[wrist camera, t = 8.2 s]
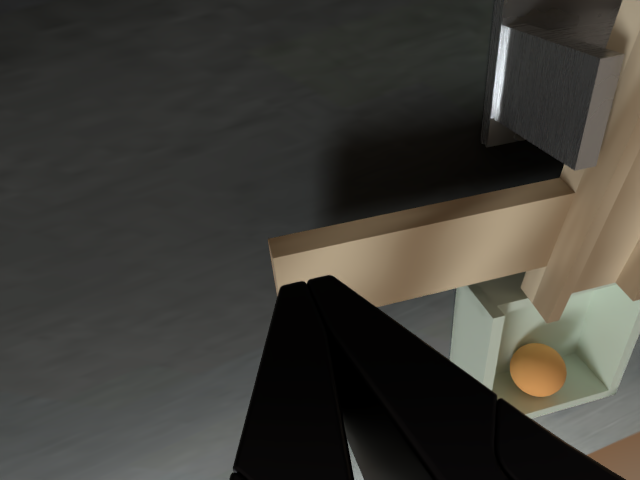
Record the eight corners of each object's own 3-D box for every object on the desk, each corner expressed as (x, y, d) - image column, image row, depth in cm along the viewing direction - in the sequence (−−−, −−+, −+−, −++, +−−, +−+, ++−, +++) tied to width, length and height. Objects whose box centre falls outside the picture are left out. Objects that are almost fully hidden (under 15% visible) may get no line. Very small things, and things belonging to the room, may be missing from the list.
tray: (610, 237, 27) (662, 275, 24) (576, 351, 32) (615, 394, 29) (457, 273, 25) (493, 318, 23) (447, 386, 31) (475, 434, 28)
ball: (548, 379, 30) (541, 332, 30) (582, 397, 27) (574, 345, 27) (504, 391, 30) (496, 343, 29) (533, 411, 27) (524, 358, 27)
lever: (883, -365, 12) (1169, -421, 8) (596, 242, 25) (662, 310, 22) (164, -343, 9) (174, -412, 6) (278, 317, 23) (300, 405, 20)
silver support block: (683, -38, 19) (840, -23, 15) (640, 111, 23) (756, 160, 18) (496, -11, 18) (604, 14, 13) (480, 141, 21) (562, 203, 17)
